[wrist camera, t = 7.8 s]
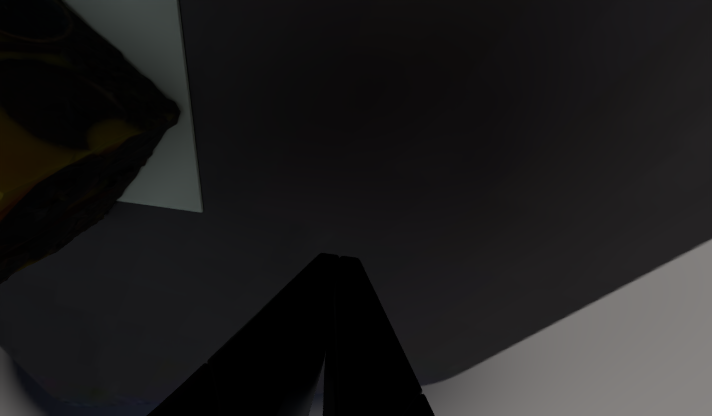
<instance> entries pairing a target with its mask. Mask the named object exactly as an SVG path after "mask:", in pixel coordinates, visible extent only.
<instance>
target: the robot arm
mask: <svg viewBox="0 0 712 416" xmlns="http://www.w3.org/2000/svg"><path fill="white" fill-rule="evenodd" d="M325 353H326V356H325ZM324 358H325V369H324V393H323V416H435V415H434V413H433V411H432V409H431V407H430V405H429V403H428V401H427V398H426V397H425V395H424V394H422V389H421V386H420V384H419V382H418V380H417V378H416V376H415V374H414V372H413V370H412V368H411V366H410V363H409V361H408V359H407V357H406V355H405V353H404V351H403V349H402V347H401V345H400V343H399V341H398V338H397V336H396V334H395V332H394V330H393V328H392V326H391V324H390V322H389V320H388V318H387V315H386V313H385V311H384V309H383V307H382V305H381V303H380V301H379V299H378V297H377V295H376V293H375V290H374V288H373V286H372V284H371V282H370V280H369V278H368V276H367V274H366V272H365V270H364V267H363V265H362V263H361V261H360V260H359V259H358V258H355V257H348V256H341V257H340V258H339V256H338V255H334V254H326V253H320V254H319V255H318V256H317V257H316V258H315V259H313V260H312V261H311V262H310V263H309V264H308V265H307V266H306V267H305V268H304V269H303V270H302V271H301V272H300V273H299V274H298V275H297V276H296V277H295V278H294V279H292V280H291V281H290V282H289V283H288V284H287V285H286V286H285V287H284V288H283V289H282V290H281V291H280V292H279V293H278V294H277V295H276V296H275V297H274V298H273V299H271V300H270V301H269V302H268V303H267V304H266V305H265V306H264V307H263V308H262V309H261V310H260V311H259V312H258V313H257V314H256V315H255V316H254V317H253V318H251V319H250V320H249V321H248V322H247V323H246V324H245V325H244V326H243V327H242V328H241V329H240V330H239V331H238V332H237V333H236V334H235V335H234V336H233V337H232V338H230V339H229V340H228V341H227V342H226V343H225V344H224V345H223V346H222V347H221V348H220V349H219V350H218V351H217V352H216V353H215V354H214V355H213V356H212V357H211V358H209V359H208V364H206V363H204V364H203V365H202V366H201V367H200V368H199V369H198V370H197V371H196V372H194V373H193V374H192V375H191V376H190V377H189V378H188V379H187V380H186V381H185V382H184V383H183V384H182V385H181V386H179V387H178V388H177V389H176V390H175V391H174V392H173V393H172V394H171V395H170V396H168V397H167V398H166V399H165V400H164V401H163V402H162V403H161V404H160V405H159V406H157V407H156V408H155V409H154V410H153V411H152V412H151V413H149V414H148V415H147V416H308V415H309V412H310V408H311V405H312V401H313V398H314V394H315V391H316V387H317V384H318V381H319V377H320V374H321V370H322V366H323V362H324Z"/></svg>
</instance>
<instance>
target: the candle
mask: <svg viewBox="0 0 712 416" xmlns="http://www.w3.org/2000/svg"><path fill="white" fill-rule="evenodd" d="M180 113H181V111H180V110H179V108H178V106H177V104H176V102H175V101H172V100H170V99H168V98H166V97H165V96H164V95H163V94H162V92H160V91H159V90H158V89H157V88H156V86H155V85H154V84H153V83H152V81H151V80H149V79H148V78H146V77H145V76H143V75H141V74H140V73H139V72H138V71H137V70H136V69H135V68H134V67H133V66H132V65H131V64H129V63H128V62H127V61H126V60H124V58H123V56H122V54H121V52H120V51H118V50H117V49H116V48H114V47H113V46H112V45H111V44H110V43H108V42H107V41H106V40H105V39H103V38H102V37H101V36H100V35H99V34H97V33H96V32H95V31H94V30H93V29H91V28H90V27H89V26H88V25H87V24H86V23H85V22H83V21H82V20H81V19H80V18H79V17H78V16H77V15H75V14H74V13H73V12H72V11H71V10H70V9H68V8H67V7H66V5H65V4H64V3H63V2H62V0H0V284H1V283H2V282H4V281H6V280H7V279H8V278H9V277H10V276H11V275H12V274H13V273H15V272H17V271H19V270H21V269H23V268H25V267H27V266H28V265H31V264H33V263H35V262H37V261H39V260H41V259H43V258H45V257H46V256H48V255H51V254H53V253H56V252H57V251H59V250H60V249H61V248H63V247H64V246H65V245H67V244H68V243H69V242H71V241H72V240H73V238H74V237H76V236H78V235H79V234H80V233H82V232H83V231H86V230H87V229H88V228H90V227H91V226H93V225H95V224H97V222H98V221H99V220H102V219H104V213H105V212H106V211H108V210H109V209H110V208H111V207H112V205H113V203H114V202H115V201H116V200H118V199H119V198H120V197H122V195H123V193H124V191H125V189H126V188H127V187H128V186H129V184H130V183H131V182H132V181H133V180H134V179H135V178H136V176H137V174H138V173H139V170H140V168H141V167H142V166H145V165H146V162H147V159H149V158H150V157H151V156H152V155H153V150H154V149H155V147H156V146H157V145H158V143H159V142H160V140H161V139H162V137H163V135H164V134H165V132H166V131H167V130H168V129H169V128H171V127H173V126H174V125H176V124H177V123H178V118H179V115H180Z"/></svg>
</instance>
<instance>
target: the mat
mask: <svg viewBox="0 0 712 416" xmlns="http://www.w3.org/2000/svg"><path fill="white" fill-rule="evenodd" d="M62 2H63V3H64V4H65V5H66V7H67V8H68V9H70V10H71V11H72V12H73V13H74V14H75V15H77V16H78V17H79V18H80V19H81V20H82V21H83V22H85V23H86V24H87V25H88V26H89V27H90V28H91V29H93V30H94V31H95V32H96V33H97V34H99V35H100V36H101V37H102V38H103V39H105V40H106V41H107V42H108V43H110V44H111V45H112V46H113V47H114V48H116V49H117V50H118V51H120V52H121V54H122V56H123V58H124V60H126V61H127V62H128V63H129V64H131V65H132V66H133V67H134V68H135V69H136V70H137V71H138V72H139V73H140V74H141V75H143V76H145V77H146V78H148V79H149V80H151V81H152V83H153V84H154V85H155V86H156V88H157V89H158V90H159V91H160V92H162V94H163V95H164V96H165V97H166V98H168V99H170V100H172V101H175V102H176V104H177V106H178V108H179V110H180V111H181V113H180V115H179V118H178V123H177V124H176V125H174V126H173V127H171V128H169V129H168V130H167V131H166V132H165V134H164V135H163V137H162V139H161V140H160V142H159V143H158V145H157V146H156V147H155V149H154V150H153V155H152V156H151V157H150V158H149V159H147V162H146V165H145V166H142V167H141V168H140V170H139V173H138V174H137V176H136V178H135V179H134V180H133V181H132V182H131V183H130V184H129V186H128V187H127V188H126V189H125V191H124V193H123V195H122V197H120V198H119V199H118V200H116V201H123V202H130V203H137V204H144V205H151V206H159V207H166V208H173V209H180V210H187V211H194V212H203V202H202V194H201V185H200V177H199V168H198V160H197V151H196V143H195V134H194V126H193V117H192V108H191V100H190V91H189V83H188V74H187V66H186V57H185V49H184V40H183V32H182V23H181V15H180V6H179V0H62Z"/></svg>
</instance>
